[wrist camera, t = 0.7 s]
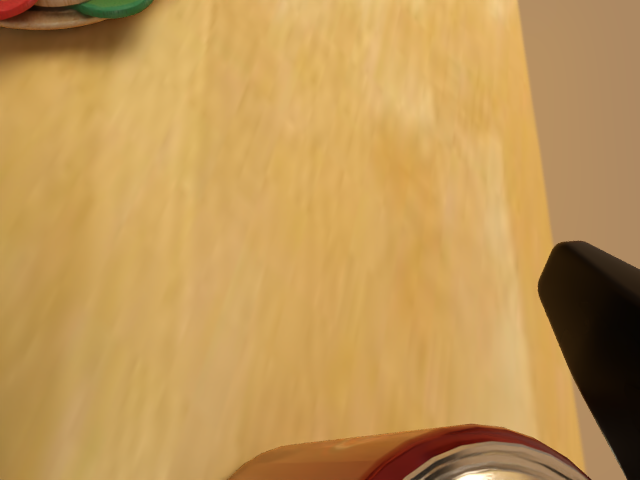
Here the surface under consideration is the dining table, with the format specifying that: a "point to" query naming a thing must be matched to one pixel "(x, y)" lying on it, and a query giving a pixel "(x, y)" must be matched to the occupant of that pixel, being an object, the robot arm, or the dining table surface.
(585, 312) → the robot arm
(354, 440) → the soda can
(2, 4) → the toy food set
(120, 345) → the dining table surface
